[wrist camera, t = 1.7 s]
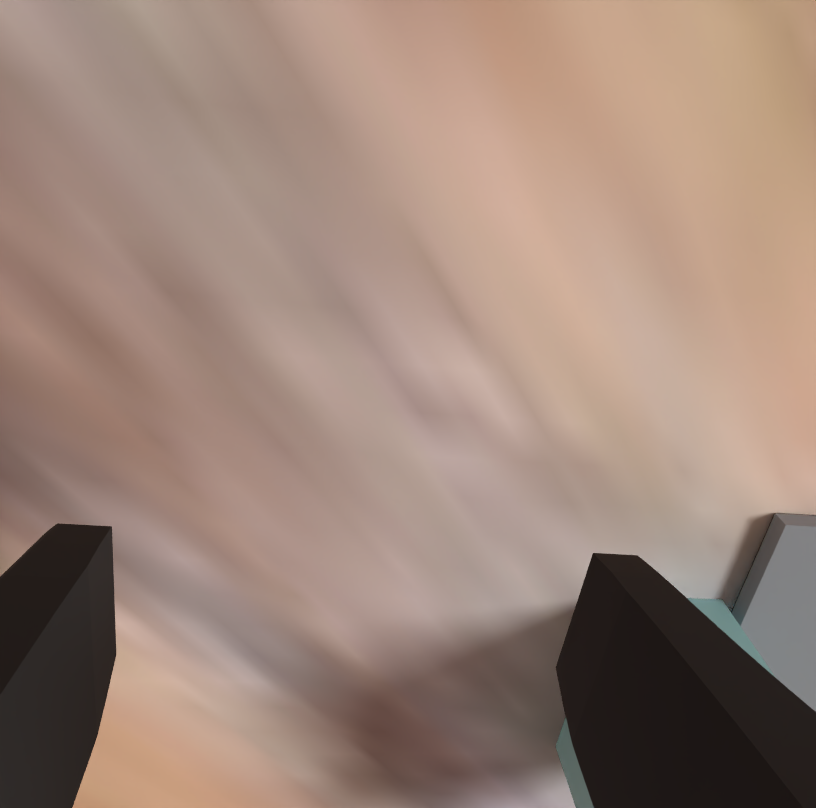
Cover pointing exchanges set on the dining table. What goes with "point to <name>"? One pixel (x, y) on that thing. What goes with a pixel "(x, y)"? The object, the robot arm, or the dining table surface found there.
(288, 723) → the dining table surface
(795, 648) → the slate grey mat
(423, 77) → the dining table surface
